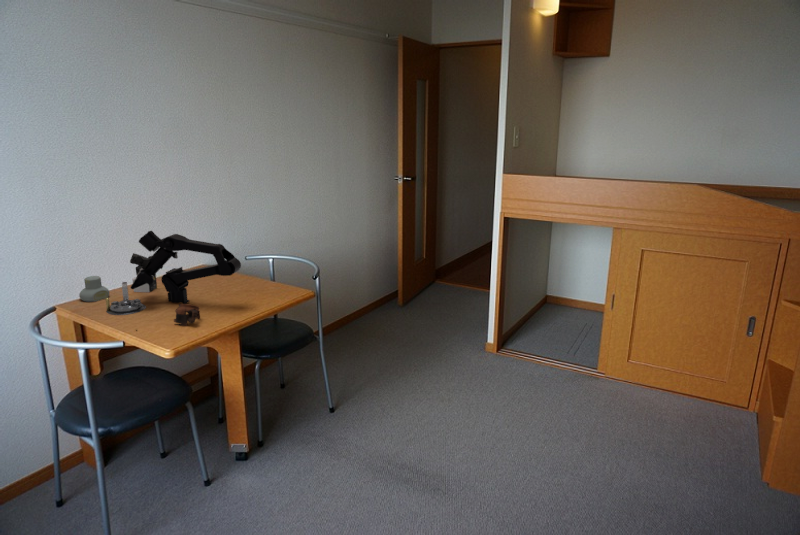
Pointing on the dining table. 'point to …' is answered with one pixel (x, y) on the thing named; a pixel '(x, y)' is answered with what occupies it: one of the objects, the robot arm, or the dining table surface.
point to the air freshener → (93, 290)
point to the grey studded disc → (125, 302)
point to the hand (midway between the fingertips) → (131, 288)
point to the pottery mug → (183, 317)
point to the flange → (121, 313)
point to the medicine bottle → (146, 286)
